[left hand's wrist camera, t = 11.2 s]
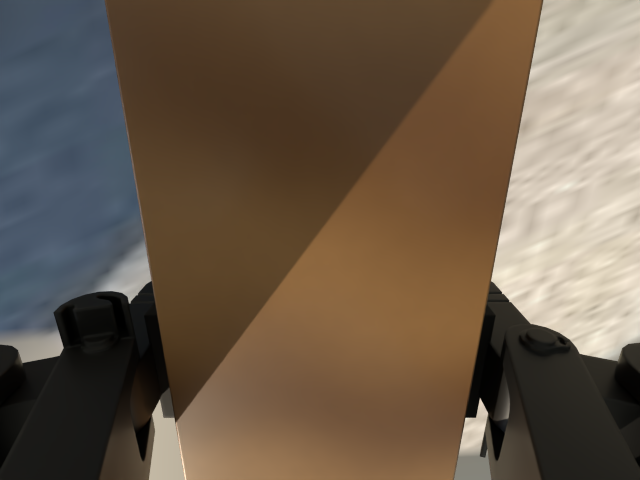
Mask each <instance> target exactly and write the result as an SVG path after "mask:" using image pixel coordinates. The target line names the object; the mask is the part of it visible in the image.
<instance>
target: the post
mask: <svg viewBox="0 0 640 480" xmlns="http://www.w3.org/2000/svg"><path fill="white" fill-rule="evenodd" d="M542 4H543V0H105V5H106V11H107V17H108V23H109V29H110V35H111V41H112V47H113V53H114V59H115V65H116V71H117V77H118V83H119V89H120V95H121V101H122V107H123V113H124V119H125V125H126V130H127V136H128V142H129V148H130V154H131V160H132V166H133V172H134V178H135V184H136V190H137V196H138V202H139V208H140V214H141V220H142V226H143V232H144V238H145V244H146V250H147V256H148V262H149V268H150V274H151V280H152V286H153V292H154V298H155V304H156V310H157V316H158V322H159V328H160V334H161V340H162V346H163V352H164V357H165V363H166V369H167V375H168V381H169V387H170V393H171V399H172V405H173V411H174V417H175V423H176V429H177V435H178V441H179V447H180V453H181V459H182V465H183V471H184V477H185V480H454V476H455V470H456V465H457V460H458V455H459V449H460V444H461V438H462V433H463V428H464V422H465V417H466V412H467V406H468V401H469V396H470V390H471V385H472V380H473V374H474V369H475V363H476V358H477V353H478V347H479V342H480V337H481V331H482V326H483V321H484V315H485V310H486V305H487V299H488V294H489V288H490V283H491V278H492V272H493V267H494V262H495V256H496V251H497V246H498V240H499V235H500V229H501V224H502V219H503V213H504V208H505V203H506V197H507V192H508V187H509V181H510V176H511V171H512V165H513V160H514V154H515V149H516V144H517V138H518V133H519V128H520V122H521V117H522V112H523V106H524V101H525V96H526V90H527V85H528V79H529V74H530V69H531V63H532V58H533V53H534V47H535V42H536V37H537V31H538V26H539V21H540V15H541V10H542Z"/></svg>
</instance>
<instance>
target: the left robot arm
mask: <svg viewBox="0 0 640 480" xmlns="http://www.w3.org/2000/svg"><path fill="white" fill-rule="evenodd" d="M54 316H55V319H56V323H57V326H58V330H59V333H60V336H61V340H62V343H63V347H64V349H63V351H62V353H61V354H60V356H57V357H52V358H47V359H42V360H37V361H31V362H26V363H22V361H21V358H20V355H19V352H18V350H17V349H16V348H14V347H13V346H8V345H0V480H149V473H150V465H151V458H152V450H153V442H154V434H155V428H154V422H153V417H152V413H153V411H154V409H155V407H156V405H157V403H158V402H159V400H160V401H161V406H162V411H163V417H164V418H175V417H174V411H173V405H172V399H171V393H170V387H169V381H168V375H167V369H166V363H165V357H164V352H163V346H162V340H161V334H160V328H159V322H158V316H157V310H156V304H155V298H154V292H153V286H152V281H151V282H149V283H147V284H146V285H145V286H144V287H143V289H142V290H141V291H140V292H139V293H138V295H136V296H135V298H134V299H133V300H132V301H131V304H129V302H128V297H127V296H125V295H124V294H122V293H119V292H113V291H106V292H96V293H91V294H86V295H83V296H80V297H77V298H74V299H72V300H70V301H68V302H66V303H64V304H63V305H61V306H60V307H59V308H58V309H57V310H56V311H55V312H54ZM480 398H481V400H482V402H483V404H484V406H485V408H486V410H487V412H488V417H487V422H486V427H485V432H484V437H483V441H482V446H481V452H480V456H481V457H485V456H486V452H487V449H488V457H489V465H490V472H491V480H640V343H634V344H628V345H626V346H625V347H623V348H622V351H621V354H620V357H619V360H618V361H613V360H608V359H602V358H597V357H592V356H587V355H582V354H579V352H578V350H577V348H576V347H575V345H574V344H573V343H572V342H571V341H570V340H569V339H568V338H566V337H565V336H563V335H562V334H560V333H558V332H556V331H554V330H551V329H549V328H546V327H542V326H538V325H534V324H530V323H529V322H528V321H527V319H526V318H525V317H524V316H523V315H522V314H521V313H520V312H519V311H518V309H517V308H516V307H515V306H514V305H513V304H512V303H511V302H509V300H508V298H507V297H506V296H505V295H504V294H502V292H501V291H500V290H499V288H498V287H497V286H496V285H495V284H494V283H493V282H491V283H490V288H489V294H488V299H487V305H486V310H485V315H484V321H483V326H482V331H481V337H480V342H479V347H478V353H477V358H476V363H475V369H474V374H473V380H472V385H471V390H470V396H469V401H468V406H467V412H466V417H465V418H476V415H477V410H478V405H479V400H480Z"/></svg>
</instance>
